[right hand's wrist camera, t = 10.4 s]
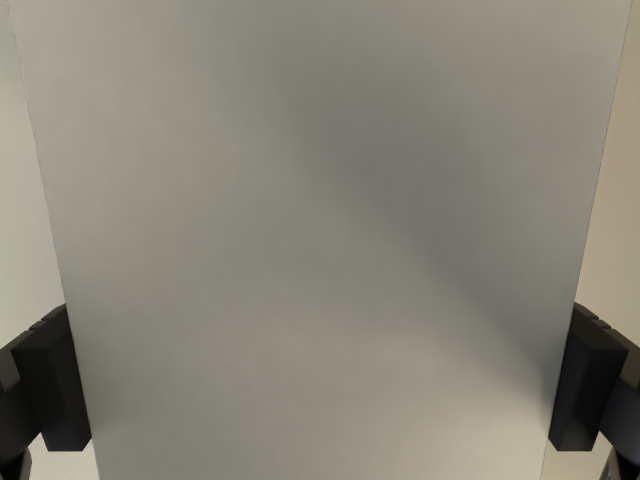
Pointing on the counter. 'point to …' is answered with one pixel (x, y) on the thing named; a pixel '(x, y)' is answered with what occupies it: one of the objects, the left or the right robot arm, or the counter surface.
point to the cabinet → (319, 226)
